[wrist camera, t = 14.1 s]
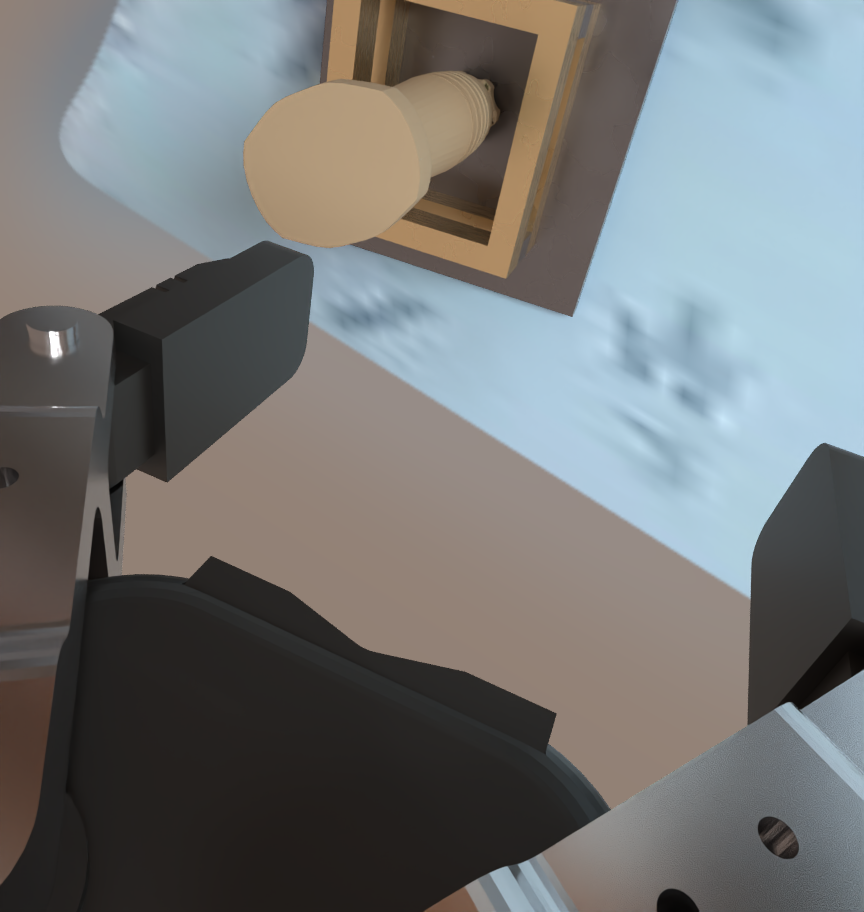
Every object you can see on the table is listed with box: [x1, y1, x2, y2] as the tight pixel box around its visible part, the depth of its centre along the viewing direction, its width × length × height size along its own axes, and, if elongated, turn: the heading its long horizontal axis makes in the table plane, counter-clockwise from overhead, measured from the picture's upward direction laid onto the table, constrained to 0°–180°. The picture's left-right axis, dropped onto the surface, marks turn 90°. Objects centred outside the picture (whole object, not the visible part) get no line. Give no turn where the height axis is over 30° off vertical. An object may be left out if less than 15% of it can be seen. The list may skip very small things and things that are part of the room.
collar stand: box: [320, 0, 678, 317], centre depth 34 cm, size 17×16×6 cm
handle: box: [243, 71, 500, 248], centre depth 29 cm, size 5×6×15 cm
